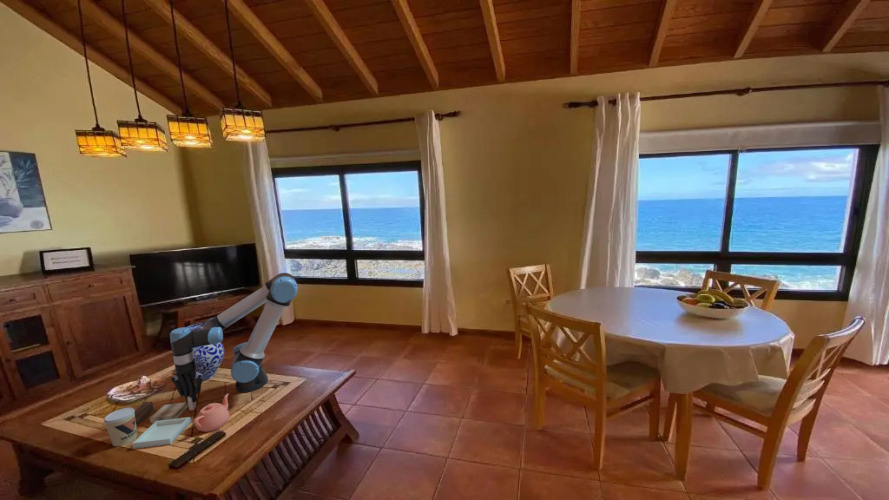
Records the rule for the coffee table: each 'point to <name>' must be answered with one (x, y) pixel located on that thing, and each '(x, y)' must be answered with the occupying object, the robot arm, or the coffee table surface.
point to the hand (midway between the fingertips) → (192, 408)
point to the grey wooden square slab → (169, 412)
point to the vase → (207, 356)
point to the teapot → (212, 416)
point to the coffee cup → (121, 426)
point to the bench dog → (143, 412)
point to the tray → (162, 433)
